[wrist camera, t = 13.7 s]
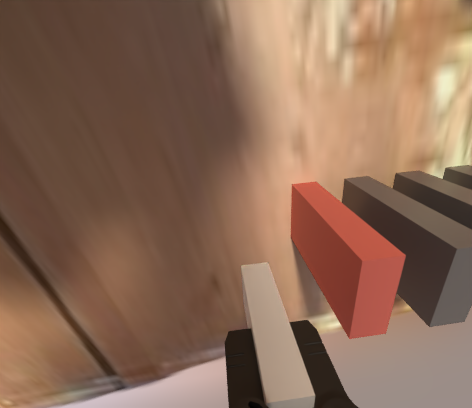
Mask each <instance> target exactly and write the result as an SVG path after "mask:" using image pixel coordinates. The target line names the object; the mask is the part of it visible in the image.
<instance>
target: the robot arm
mask: <svg viewBox="0 0 472 408" xmlns="http://www.w3.org/2000/svg"><path fill="white" fill-rule="evenodd" d="M241 274H242V287H243V301H244V308H245V314H246V320H247V326H248V329H242V330H235V331H229V332H228V335H227V338H226V341H225V354H226V367H227V369H226V370H227V384H228V401H229V408H358V407H357V406H356V405H355V404H354V403H353V402H352V401H351V400H350V399H349V397H348V396H347V394H346V392H345V391H344V388H343V386H342V384H341V382H340V379H339V377H338V375H337V373H336V371H335V369H334V366H333V364H332V362H331V360H330V358H329V356H328V354H327V352H326V349H325V347H324V345H323V343H322V340H321V338H320V336H319V334H318V332H317V329H316V328H315V327H314V326H313V325H312V324H311V323H310V322H309V321H308V320H303V321H296V322H289V320H288V317H287V314H286V311H285V309H284V306H283V303H282V300H281V297H280V295H279V292H278V289H277V286H276V283H275V280H274V278H273V275H272V272H271V269H270V266H269V263H268V262H265V263H257V264H248V265H241Z"/></svg>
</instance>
